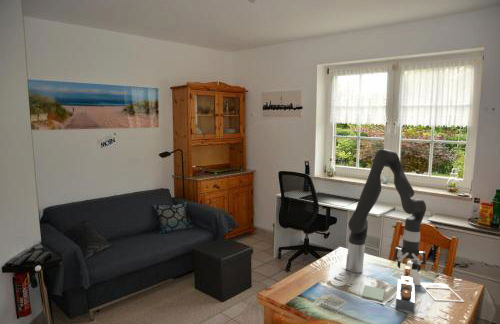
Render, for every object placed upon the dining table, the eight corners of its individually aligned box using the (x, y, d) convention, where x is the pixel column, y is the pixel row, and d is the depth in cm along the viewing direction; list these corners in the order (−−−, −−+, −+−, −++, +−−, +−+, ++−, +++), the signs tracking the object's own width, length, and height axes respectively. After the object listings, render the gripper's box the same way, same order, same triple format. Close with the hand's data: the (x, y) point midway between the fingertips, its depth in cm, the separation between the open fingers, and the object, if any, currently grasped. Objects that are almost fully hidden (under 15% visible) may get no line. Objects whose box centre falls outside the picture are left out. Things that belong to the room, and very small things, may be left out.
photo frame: (445, 283, 192) (464, 300, 174) (445, 285, 192) (464, 302, 174) (419, 282, 192) (434, 299, 175) (418, 283, 193) (434, 301, 175)
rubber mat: (361, 296, 176) (362, 295, 176) (364, 286, 187) (364, 284, 187) (382, 301, 172) (382, 300, 172) (384, 290, 183) (384, 289, 183)
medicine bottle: (415, 279, 197) (417, 259, 195) (420, 285, 190) (422, 265, 188) (402, 278, 198) (404, 258, 196) (407, 284, 191) (409, 264, 189)
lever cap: (411, 292, 171) (412, 283, 170) (400, 290, 173) (401, 281, 172) (411, 285, 178) (412, 276, 177) (400, 283, 180) (401, 274, 179)
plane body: (413, 312, 164) (416, 286, 162) (395, 308, 167) (398, 282, 165) (413, 291, 183) (416, 268, 181) (397, 287, 187) (399, 265, 185)
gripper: (395, 238, 171) (393, 269, 173) (427, 243, 165) (424, 275, 168) (396, 234, 178) (393, 263, 180) (427, 238, 172) (424, 269, 174)
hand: (408, 269), depth 174 cm, fingers open, 8 cm apart
